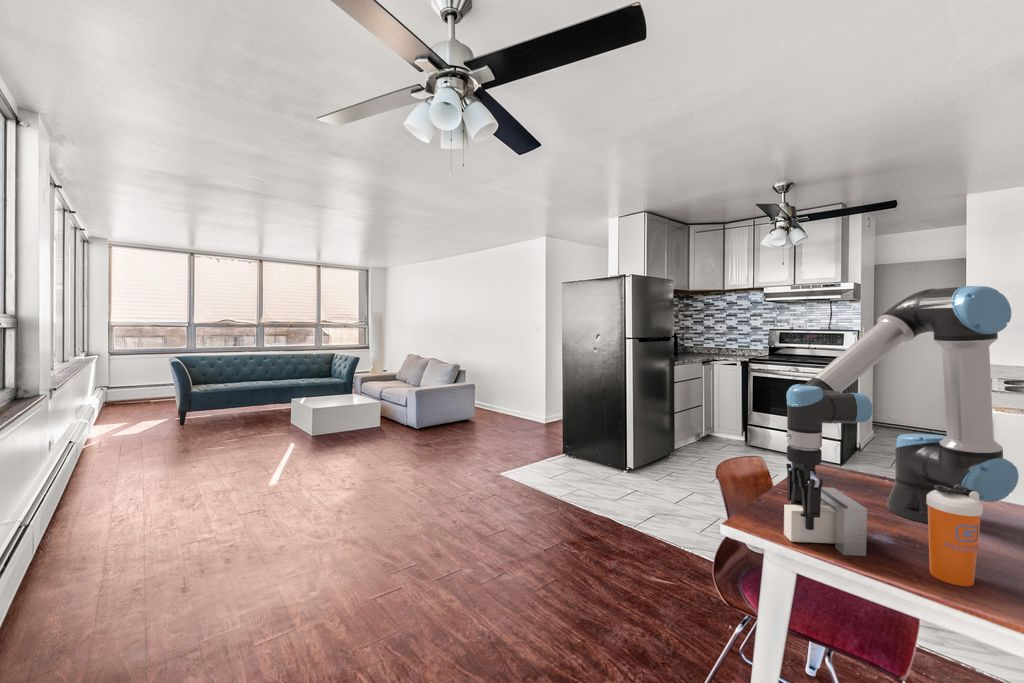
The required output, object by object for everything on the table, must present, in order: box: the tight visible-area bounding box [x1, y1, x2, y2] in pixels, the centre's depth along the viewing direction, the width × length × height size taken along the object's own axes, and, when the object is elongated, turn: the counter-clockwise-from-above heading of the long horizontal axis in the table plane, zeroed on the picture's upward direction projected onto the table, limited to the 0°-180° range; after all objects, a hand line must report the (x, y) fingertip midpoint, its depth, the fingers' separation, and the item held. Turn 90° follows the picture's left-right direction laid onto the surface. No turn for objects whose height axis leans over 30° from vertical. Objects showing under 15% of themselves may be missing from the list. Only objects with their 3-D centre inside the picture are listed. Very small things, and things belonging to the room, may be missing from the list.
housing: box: [821, 486, 868, 557], centre depth 118 cm, size 5×14×12 cm, turn 173°
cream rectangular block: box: [783, 504, 836, 544], centre depth 118 cm, size 16×4×8 cm, turn 83°
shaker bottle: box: [926, 485, 984, 587], centre depth 101 cm, size 9×9×20 cm
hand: (802, 536), depth 119 cm, fingers closed on cream rectangular block, 4 cm apart
